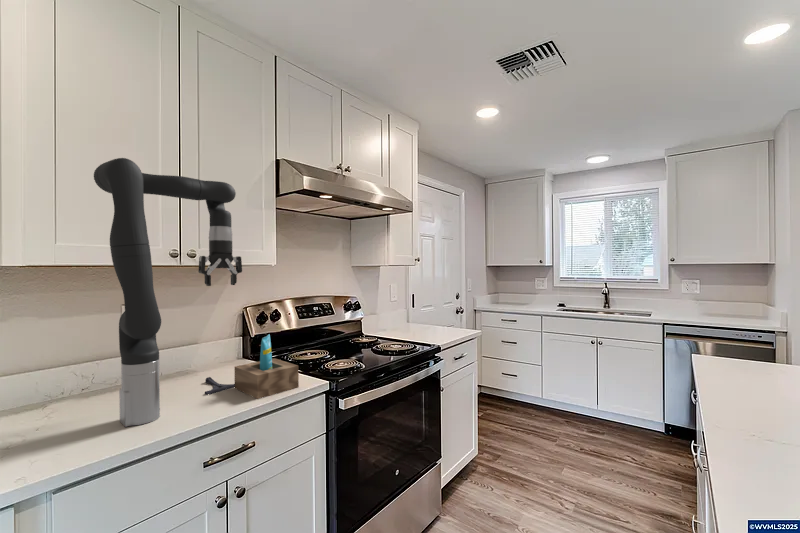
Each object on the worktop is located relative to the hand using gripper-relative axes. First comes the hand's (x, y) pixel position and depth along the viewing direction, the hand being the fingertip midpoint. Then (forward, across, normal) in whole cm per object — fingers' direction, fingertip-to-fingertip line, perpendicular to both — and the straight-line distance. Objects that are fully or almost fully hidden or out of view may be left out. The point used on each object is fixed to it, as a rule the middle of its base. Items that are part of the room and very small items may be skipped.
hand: (221, 285), depth 135 cm
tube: (+38, +13, -8) cm, 41 cm away
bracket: (+39, +2, +9) cm, 40 cm away
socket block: (+38, +13, -8) cm, 41 cm away
